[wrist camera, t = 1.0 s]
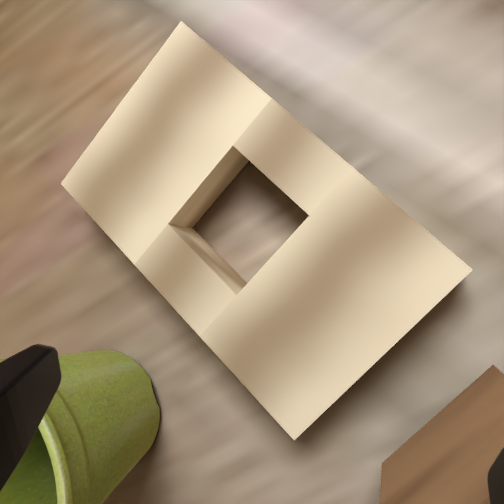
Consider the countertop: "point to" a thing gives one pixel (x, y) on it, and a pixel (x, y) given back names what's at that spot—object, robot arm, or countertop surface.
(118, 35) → the countertop surface
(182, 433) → the countertop surface
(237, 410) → the countertop surface
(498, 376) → the walnut peg
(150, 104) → the birch board
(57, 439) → the plant pot
